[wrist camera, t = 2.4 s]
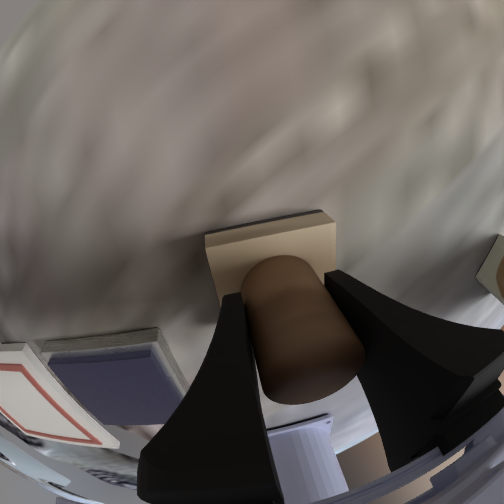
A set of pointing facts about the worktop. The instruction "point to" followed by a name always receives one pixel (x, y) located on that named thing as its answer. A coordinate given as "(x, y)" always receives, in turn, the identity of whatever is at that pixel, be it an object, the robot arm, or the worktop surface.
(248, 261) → the stamp
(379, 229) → the worktop surface
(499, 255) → the skincare box
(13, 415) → the marked board
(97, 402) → the ink pad
